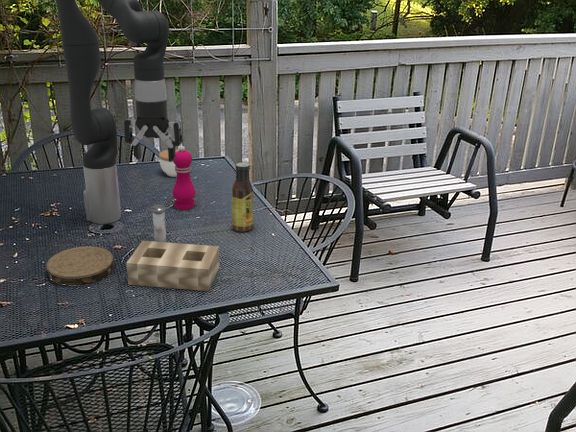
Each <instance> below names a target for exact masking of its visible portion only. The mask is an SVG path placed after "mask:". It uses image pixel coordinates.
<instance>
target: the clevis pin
mask: <svg viewBox="0 0 576 432" xmlns="http://www.w3.org/2000/svg"><path fill="white" fill-rule="evenodd" d="M149 210H150V212H151V213H152V214H151V215H152V228H153V239H154V240H153V241H154V242H167V233H166V232H167V230H166V229H167V228H166V227H167V226H166V215H165V214H166V213H165V212H166V211H167V206H166V205H164V204H154V205H152V206H150V208H149Z"/></svg>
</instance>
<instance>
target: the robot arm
mask: <svg viewBox="0 0 576 432" xmlns="http://www.w3.org/2000/svg"><path fill="white" fill-rule="evenodd" d="M98 2H99V4H100V5H101V7H102V8H103V9H104V11H106V12H107V13H108V15H110V16H111V17H112V18H113V19H114V20H115V21H116V22H117V24H118V26H119V28H120V29H121V31H122V34H123V36H124V37H125V38H126V39H127V40H128V41H130V42H131V43H133V44H146V47H145V49H144V51H141V52H139V53H136V54H135V56H134V57H133V74H134V99H135V111H136V113H135V114H136V119H133V118H132V117H128V118H126V119H125V120H124V121H123V122H124V123H123V126H124V142H125V143H126V144H131V145H132V150H133V151H132V152H133V158H135V160H136V161H137V160H139V161H140V159H141V158H142V147H141V143H140V142H141V141H142V139H143V138H144V137H145V138H146V139H147V138H148V139H150V138H154V139H159V138H160V139H161V140H162V141H163V142H164V143H165V144H166V145H167V147H168V148H167V150H168V159H169V162H172V161H173V160H174V159H175V157H176V153H175V149H176V148H177V147H180V146H181V145H182V144H183V141H184V140H183V134H182V133H183V132H182V124H181V123H182V122H181V121H180V120H176V121H170V120H169V117H168V103H167V102H168V99H167V97H168V93H167V86H166V81H165V66H164V60H165V56H166V50H167V46H168V41H169V36H170V25H169V22H168V19H167V17H166V15H165V14H164V13H163V12H161V11H159V10H147V11H146V10H145V11H142V5H141V3H140V2H139V1H138V0H98ZM55 4H56V9H57V14H58V15H57V16H58V21H59V28H60V35H61V43H62V51H63V56H64V63H65V68H66V73H67V74H66V75H67V83H68V90H69V105H70V106H69V107H70V123H71V129H72V133H73V135H74V138H75V139H76V141H77V142H78V143H79V144H80V145H82V146H89V145H92V146H91V147H90V149H88V150H87V151H86V152H85V153H84V154H83V155H82V160H81V161H82V168H83V175H84V181H85V182H84V183H85V189H84V190H83V192H82V193H83V199H84V208H85V209H84V210H85V217H86V221H87V222H88V221H89V222H91V223H94V224H98V225H105V224H112V223H114V222H117V221H119V220H120V219H122V209H121V199H120V189H119V187H120V186H119V181H118V180H119V179H118V167H117V156H118V131H117V130H118V129H117V128H118V127H117V123H116V119H115V117H114V115H113V113H112V112H111V110H109V109H108V108H106V107H97V108H92V105H91V104H92V103H91V95H92V89H93V86H94V84H95V81H96V79H97V76H98V74H99V71H100V66H101V57H102V56H101V50H100V44H99V43H100V41H99V36H98V34H97V32H96V30H95V28H94V27H93V26H92V24H91V23H90V21H89V20H88V19H87V17H86V16H85V15H84V13H83V12H82V11H81V9H80V7H79V6H78V3H77V1H76V0H55ZM135 126H136V127H137V129H138V130H139V131H138V133H137V135H136V136H135V137H133V132H134V131H133V128H134V127H135ZM169 127H170V128H171V130H172V131H173V135H174V138H173V137H172V135H171V133H170V132H169V131H168V129H169Z"/></svg>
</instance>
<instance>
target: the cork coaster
mask: <svg viewBox="0 0 576 432" xmlns="http://www.w3.org/2000/svg"><path fill="white" fill-rule="evenodd" d="M114 261H115V260H114V256H113V253H112V252H110V251H109V250H108V249H106V248H103V247H99V246H91V245H90V246H77V247H76V246H75V247H70V248H68V249H64V250H62V251H60V252H58V253H56V254H54V255H52V257H50V258H49V259H48V261H47V262H46V271H47V276H49V277H50V278H51V279H52V280H53V281H55V282H57V283H60V284H66V285H84V286H87V285H86V284H90V285H93V284H96V283H98V281H99V282H101V281H103V280H104V279H103V278H105V279H106V278H108V277H109V276H110V275H111V274H112V273H113V272H114V269H115V262H114ZM109 274H110V275H109ZM108 275H109V276H108ZM107 276H108V277H107ZM49 277H48V278H49ZM102 279H103V280H102ZM95 282H96V283H95ZM92 283H93V284H92Z"/></svg>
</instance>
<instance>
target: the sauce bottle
mask: <svg viewBox="0 0 576 432" xmlns="http://www.w3.org/2000/svg"><path fill="white" fill-rule="evenodd" d="M250 169H251V166H250V163H248V162H237V163H235V173H236V176H235V181H234V182H233V183H232V188H231V193H232V194H231V225H232V226H231V227H232V229H233V230H234V231H236V232H242V233H244V232H248V231H251V230H252V228H253V224H254V189H253V185H252V183H251V179H250Z"/></svg>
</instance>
